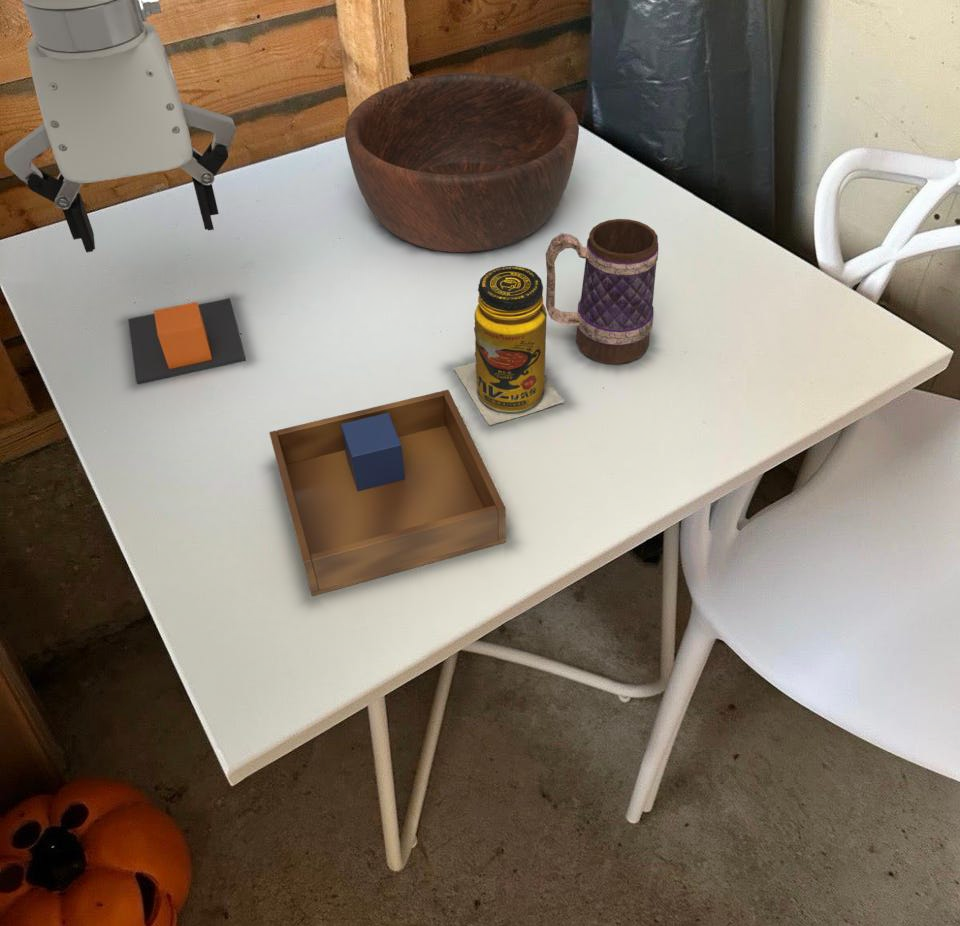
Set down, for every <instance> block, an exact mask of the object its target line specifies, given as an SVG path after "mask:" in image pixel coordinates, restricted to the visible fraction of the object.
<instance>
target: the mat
mask: <svg viewBox="0 0 960 926" xmlns="http://www.w3.org/2000/svg"><path fill="white" fill-rule="evenodd" d="M198 306H199V309H200V313H201V316H202V320H203V323H204V326H205V330H206V333H207V337H208V342H209V347H210V351H211V356H212V360H210V361H205V362H200V363H196V364H191V365H187V366H182V367H178V368H173V369H169V367H168V364H167V361H166V359H165V356H164V353H163V350H162V347H161V344H160V341H159V338H158V334H157V328H156V321H155V315H154V313H150V314H145V315H141V316H135V317H131V318H128V327H129V337H130V343H131V351H132V360H133V367H134V375H135V382H136V384H137V385H138V384H139V385H140V384H144V383H147V382H153V381H157V380H161V379H165V378H170V377H171V378H172V377H175V376H180V375H185V374H188V373H189V374H190V373H193V372H197V371H202V370H208V369H212V368H215V367H220V366H226V365H230V364H234V363H239V362H243V361H246V357H245V353H244V349H243V348H244V347H243V344H242V341H241V336H240V333H239V329H238V325H237V321H236V317H235V314H234V309H233V305H232V302H231V298H230V297H229V298H224V299H219V300H214V301H209V302H205V303H198Z"/></svg>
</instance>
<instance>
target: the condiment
mask: <svg viewBox="0 0 960 926" xmlns="http://www.w3.org/2000/svg"><path fill="white" fill-rule="evenodd" d="M477 291H478V298H477V302H478V303H477V305H476V308H475V310H474V327H473V331H474V336H475V337H474V338H475V342H474V345H475V347H474V349H475V352H474V356H475V361H474V362H470V363H469V364H463V365H459V366H456V367H453V370H454V371H455V373H456V374H457V376H458V378H459V379H460V381H461V382H462V384H463V386H464V387H465V388H466V390H467V393H468V394H469V396H470V397H471V399H472V401H473V403H474V404H475V406H476V407H477V409H478V410H479V412H480V414H481V415H482V417H483V419H484V420H485V421H486V423H487V424H488V425H489V426H491V425H495V424H499V423H503V422H506V421H510V420H515V419H517V418H520V417H525V416H527V415H530V414H533V413H536V412H540V411H542V410H545V409H547V408H550V407H553V406H556V405H560V404H563V403H565V400H564V399H563V397H562V396H561V395H560V394H559V392H558V391H557V390H556V388H555V386H553V384H552V383H551V381H550V380H549V378H547V376H546V373H545V372H546V349H547V348H546V345H547V343H546V342H547V318H548V312H547V308H546V305H545V304H544V296H543V294H544V293H543V292H544V285H543V282H542V279H541V277H540V276H539V275H538V274H537V273H536V272H535V271H533V270H532V269H530V268H528V267H523V266H518V265H517V266H516V265H504V266H499V267H496V268H493V269H491V270H489V271H486V273H485V274H484V275H483V276H482V277H481V278H480V279H479V283H478V285H477Z"/></svg>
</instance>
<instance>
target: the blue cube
mask: <svg viewBox="0 0 960 926" xmlns="http://www.w3.org/2000/svg"><path fill="white" fill-rule="evenodd" d="M341 429H342V435H343V440H344V446H345V452H346V458H347V461H348V464H349V467H350V470H351V473H352V476H353V479H354V482H355V485H356V488H357V491H361V490H365V489H369V488H373V487H377V486H381V485H385V484H388V483H392V482H396V481H400V480H404V479H405V473H404V464H403V455H402V446H401V443H400V440H399V438H398V435H397V433H396V430H395V428H394V425H393V423H392V420H391V418H390V415H389V413H385V414H381V415H377V416H373V417H368V418H364V419H360V420H356V421H352V422H348V423H343V424H341Z"/></svg>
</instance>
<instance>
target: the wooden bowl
mask: <svg viewBox="0 0 960 926" xmlns="http://www.w3.org/2000/svg"><path fill="white" fill-rule="evenodd" d="M579 125H580V124H579V119H578V116H577V114H576V112H575V110H574V109H573V107H572V106H571V105H570V104H569V102H568V101H566V99H564V98H563V97H562V96H560V95H559V94H557V93H555V92H554V91H552V90H550V89H549V88H547V87H544V86H542V85H540V84H537V83H534V82H532V81H529V80H525V79H521V78H517V77H512V76H507V75H503V74H502V75H501V74H493V73H483V72H482V73H481V72H454V73H453V72H451V73H442V74H441V73H440V74H433V75H427V76H422V77H416V78H413V79H408V80H404V81H401V82H399V83H395V84H393V85H389V86H387V87H385V88H383V89H380V90H379V91H377V92H375V93H373V94H372V95H370V96H368V97H367V98H365V100H363V101H362V102H360V103H359V104H358V105H357V106H356V107H355V108H354V109H353V110H352V112H351V113H350V114H349V116H348V119H347V120H346V123H345V130H344V139H345V143H346V149H347V153H348V157H349V160H350V164H351V168H352V171H353V174H354V178H355V180H356V183H357V187H358V189H359V191H360V194H361V196H362V197H363V200H364V202H365V203H366V205H367V207H368V208H369V210H370V211H371V213H372V214H373V215H374V217H375V218H376V220H378V222H379V223H380V224H381V225H382V226H383V227H384V228H385V229H386V230H387V231H388V232H390V233H392V234H393V235H394V236H396V237H398V238H400V239H401V240H403V241H405V242H407V243H409V244H412V245H415V246H418V247H420V248H425V249H429V250H434V251H440V252H448V253H470V252H471V253H472V252H482V251H488V250H494V249H498V248H502V247H505V246H509V245H512V244H514V243H516V242H519V241H521V240H523V239H524V238H526V237H528V236H530V235H532V234H533V233H534V232H536V231H537V230H538V229H540V228H541V227H542V226H544V224H545V223H547V221H548V220H549V218H550V217H551V216H552V215H553V214H554V212H555V210H556V209H557V207H558V205H559V204H560V202H561V200H562V198H563V196H564V193H565V191H566V189H567V187H568V184H569V180H570V177H571V174H572V171H573V167H574V166H573V165H574V161H575V157H576V151H577V147H578V141H579V135H580V126H579Z"/></svg>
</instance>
